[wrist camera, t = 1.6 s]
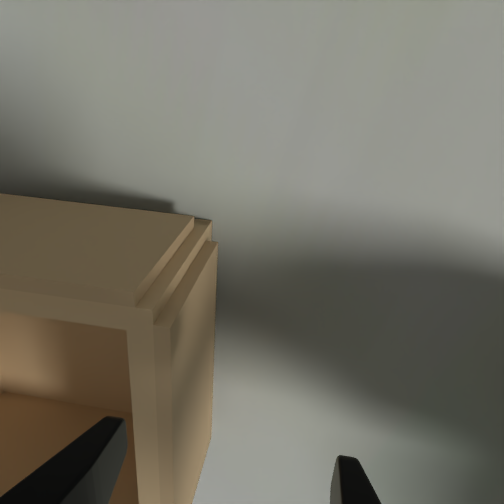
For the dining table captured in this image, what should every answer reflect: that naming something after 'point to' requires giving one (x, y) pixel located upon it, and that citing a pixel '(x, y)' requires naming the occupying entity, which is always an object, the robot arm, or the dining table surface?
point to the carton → (107, 339)
